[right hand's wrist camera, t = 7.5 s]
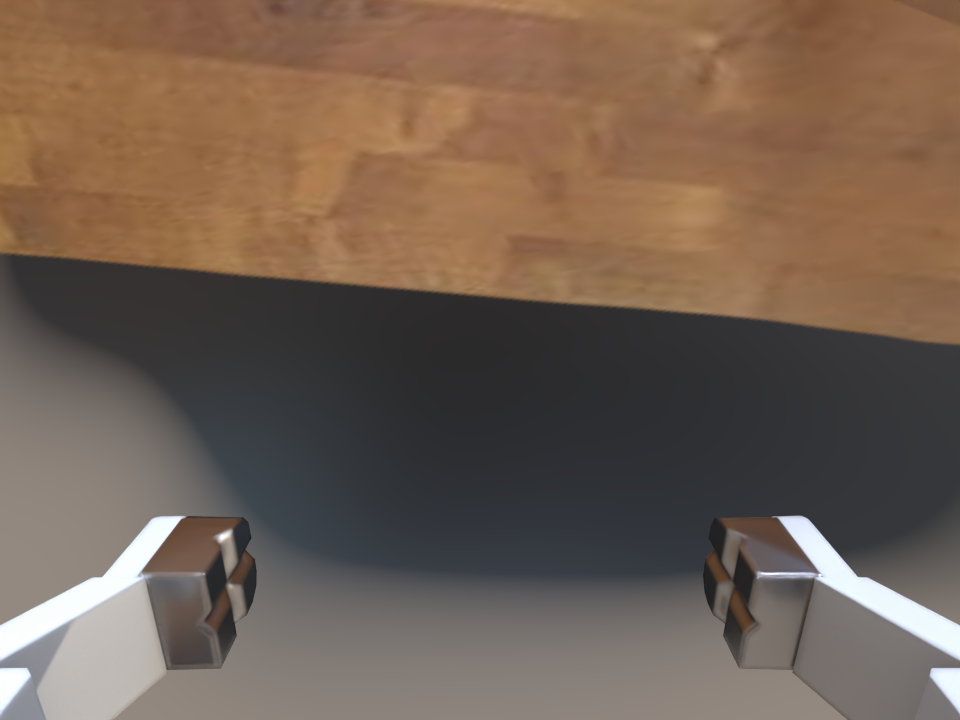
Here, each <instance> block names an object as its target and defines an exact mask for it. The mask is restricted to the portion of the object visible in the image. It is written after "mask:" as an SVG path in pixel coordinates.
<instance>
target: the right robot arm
mask: <svg viewBox="0 0 960 720" xmlns="http://www.w3.org/2000/svg"><path fill="white" fill-rule="evenodd" d="M250 540H251V534H250V529H249V524H248V521H247V520H245V519H244V518H243V517H199V516H188V517H185V516H159V517H156V518H153V519H152V520H151V521H150V522H149V523H148V524H147V525H146V526H145V528H144V529H143V530H142V531H141V532H140V534H139V535H138V536H137V537H136V538H135V539H134V540H133V542H132V543H131V544H130V545H129V546H128V548H127V549H126V550H125V551H124V552H123V553H122V555H121V556H120V557H119V558H118V559H117V560H116V562H115V563H114V564H113V565H112V566H111V568H110V569H109V570H108V571H107V572H106V573H105V575H104V576H103V577H100V578H91V579H89V580H87V581H85V582H83V583H81V584H79V585H77V586H75V587H73V588H71V589H70V590H68V591H66V592H64V593H62V594H60V595H58V596H56V597H54V598H52V599H50V600H48V601H46V602H45V603H43V604H41V605H39V606H37V607H35V608H33V609H31V610H29V611H27V612H25V613H23V614H21V615H19V616H17V617H15V618H14V619H12V620H10V621H8V622H6V623H4V624H2V625H0V720H113V719H114V718H115V717H116V716H118V715H119V714H120V713H121V712H122V711H123V710H125V709H126V708H127V707H128V706H129V705H130V704H132V703H133V702H134V701H135V700H136V699H137V698H139V697H140V696H141V695H142V694H143V693H144V692H145V691H147V690H148V689H149V688H150V687H151V686H153V685H154V684H155V683H156V682H157V681H158V680H160V679H161V678H162V677H163V676H164V675H165V674H167V670H183V669H218V668H221V667H222V665H223V663H224V661H225V659H226V657H227V655H228V653H229V651H230V649H231V647H232V645H233V642H234V640H235V638H236V636H237V635H236V629H235V623H237V622H238V621H239V620H241V619H242V618H243V617H245V616H246V615H247V613H248V611H249V609H250V606H251V604H252V602H253V598H254V593H255V589H256V564H255V559H254V558H253V557H252V556H251V555H250V554H249V553H248V552H247V551H246V550H245V549H246V547H247V545H248V543H249V541H250ZM709 540H710V541H711V543H712V545H713V547H714V549H715V550H714V551H713V552H712V553H711V554H710V555H709V556H708V557H707V558H706V559H705V565H704V573H703V578H704V589H705V595H706V598H707V602H708V605H709V607H710V609H711V611H712V613H713V615H714V616H715V617H717V618H718V619H719V620H721V621H722V622H723V623H725V629H724V635H723V636H724V638H725V640H726V642H727V645H728V646H729V649H730V651H731V653H732V655H733V657H734V659H735V661H736V663H737V665H738V667H739V668H741V669H777V670H793V673H794V674H795V675H796V676H797V677H798V678H800V679H801V680H802V681H803V682H804V683H805V684H807V685H808V686H809V687H810V688H811V689H812V690H814V691H815V692H816V693H817V694H818V695H819V696H820V697H822V698H823V699H824V700H825V701H826V702H827V703H829V704H830V705H831V706H832V707H833V708H834V709H836V710H837V711H838V712H839V713H840V714H842V715H843V716H844V717H845V718H846V719H847V720H960V625H958V624H956V623H954V622H952V621H950V620H948V619H946V618H944V617H942V616H940V615H938V614H937V613H935V612H933V611H931V610H929V609H927V608H925V607H923V606H921V605H919V604H917V603H915V602H913V601H912V600H910V599H908V598H906V597H904V596H902V595H900V594H898V593H896V592H894V591H892V590H890V589H888V588H887V587H885V586H883V585H881V584H879V583H877V582H875V581H873V580H871V579H869V578H862V577H861V578H860V577H857V576H856V575H855V573H854V572H853V571H852V570H851V569H850V568H849V566H848V565H847V564H846V563H845V562H844V561H843V559H842V558H841V557H840V556H839V555H838V554H837V552H836V551H835V550H834V549H833V548H832V546H831V545H830V544H829V543H828V542H827V541H826V539H825V538H824V537H823V536H822V535H821V534H820V532H819V531H818V530H817V529H816V528H815V527H814V525H813V524H812V523H811V522H810V521H809V520H808V519H807V518H805V517H803V516H778V517H764V518H714V520H713V522H712V524H711V527H710V533H709Z"/></svg>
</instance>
